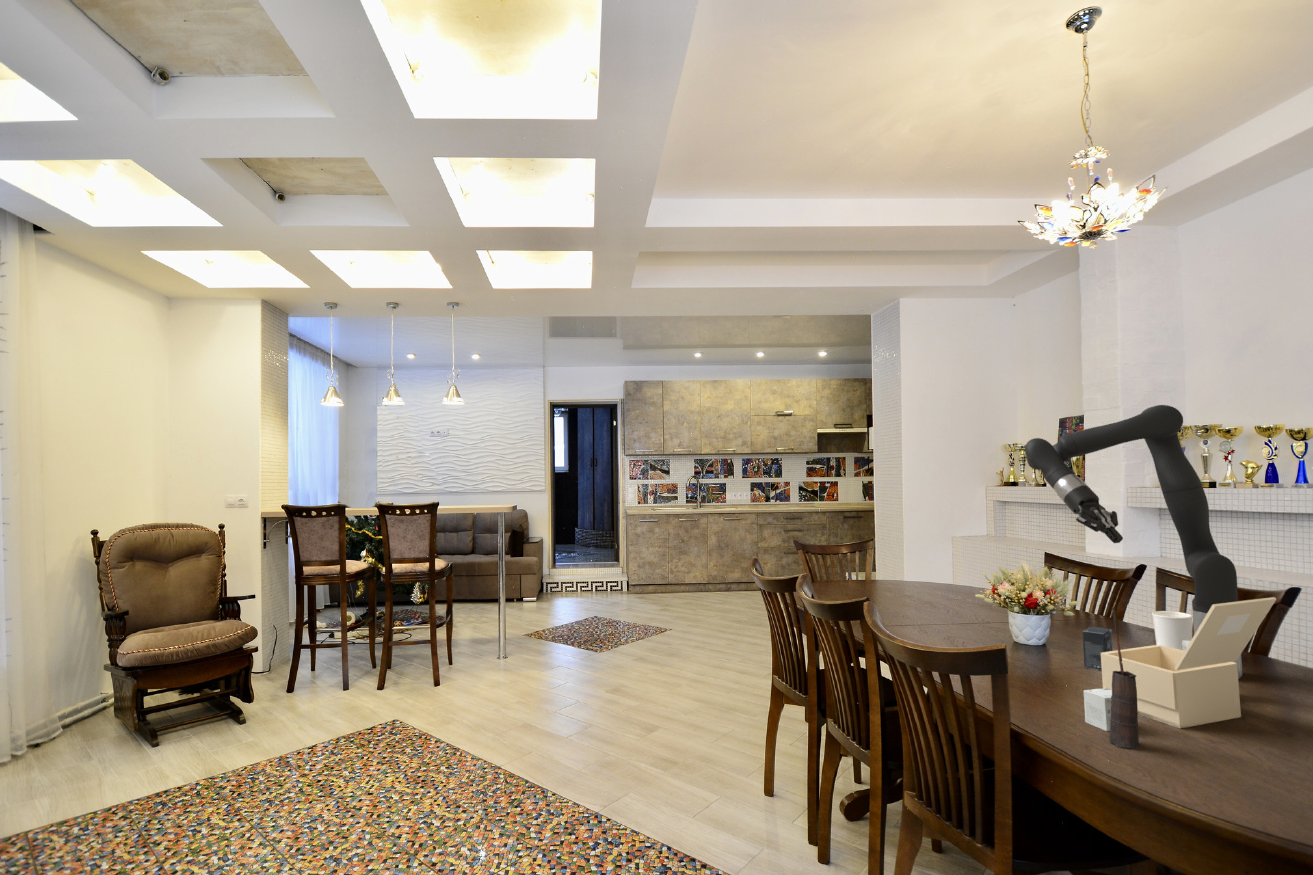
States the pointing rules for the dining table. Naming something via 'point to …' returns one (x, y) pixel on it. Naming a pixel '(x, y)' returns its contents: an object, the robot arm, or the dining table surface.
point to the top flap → (1224, 632)
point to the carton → (1176, 686)
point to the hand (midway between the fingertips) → (1119, 541)
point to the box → (1096, 646)
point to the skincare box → (1098, 707)
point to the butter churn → (1123, 704)
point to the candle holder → (1172, 628)
